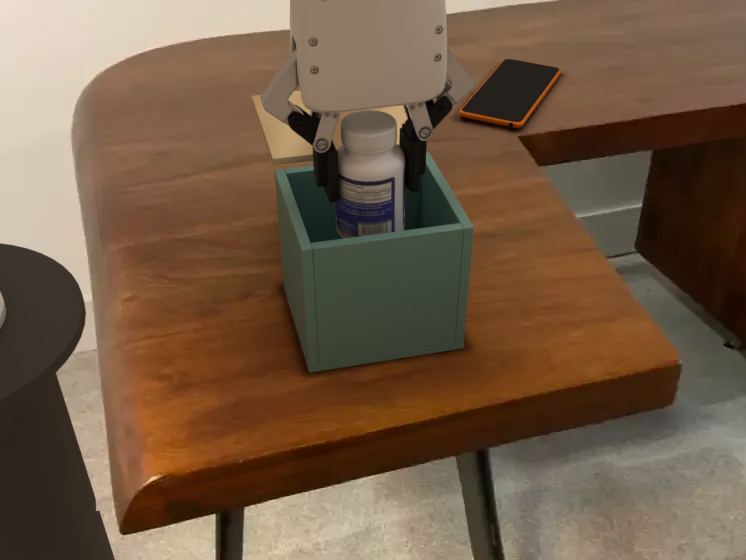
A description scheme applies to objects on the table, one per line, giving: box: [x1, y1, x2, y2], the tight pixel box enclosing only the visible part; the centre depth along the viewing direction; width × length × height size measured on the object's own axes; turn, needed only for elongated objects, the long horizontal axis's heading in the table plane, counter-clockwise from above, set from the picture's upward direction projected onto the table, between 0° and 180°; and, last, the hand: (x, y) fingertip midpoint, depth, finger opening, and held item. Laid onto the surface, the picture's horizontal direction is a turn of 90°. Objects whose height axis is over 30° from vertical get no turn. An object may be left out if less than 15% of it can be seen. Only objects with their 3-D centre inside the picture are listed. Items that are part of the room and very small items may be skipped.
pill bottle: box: [335, 110, 406, 239], centre depth 68 cm, size 5×5×9 cm
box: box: [274, 151, 475, 373], centre depth 72 cm, size 13×12×11 cm
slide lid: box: [251, 90, 407, 166], centre depth 75 cm, size 13×12×6 cm
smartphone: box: [458, 58, 562, 129], centre depth 107 cm, size 8×17×1 cm, turn 156°
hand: (369, 185), depth 68 cm, fingers closed on pill bottle, 5 cm apart
